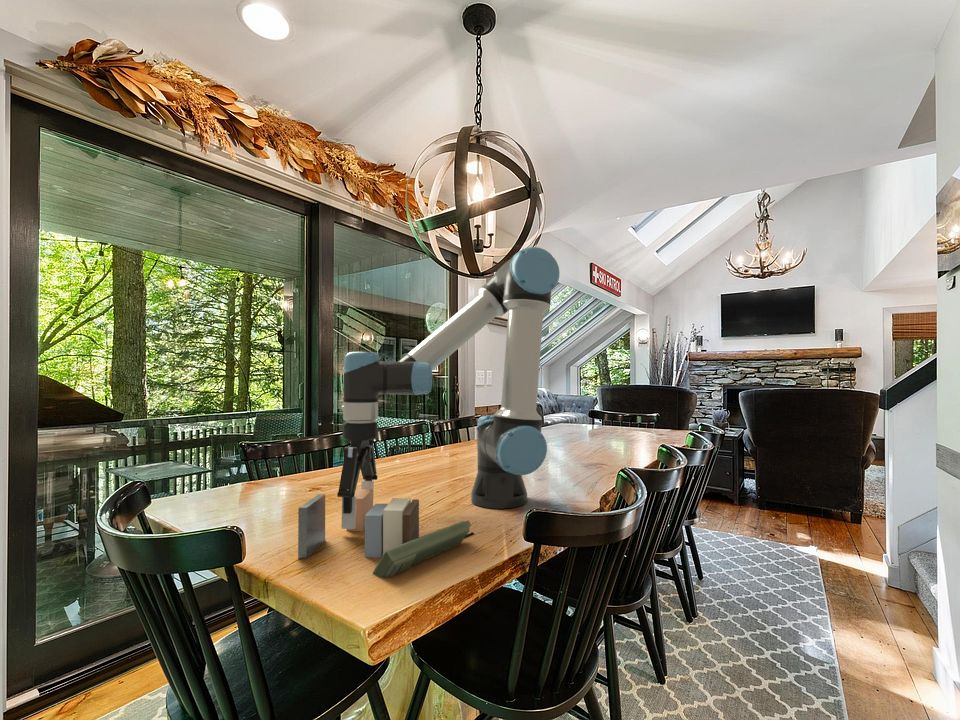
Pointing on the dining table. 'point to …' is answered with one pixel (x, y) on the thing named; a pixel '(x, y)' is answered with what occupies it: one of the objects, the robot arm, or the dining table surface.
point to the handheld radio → (421, 549)
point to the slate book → (374, 531)
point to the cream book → (394, 522)
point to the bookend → (311, 525)
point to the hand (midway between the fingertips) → (358, 518)
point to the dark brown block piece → (411, 522)
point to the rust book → (362, 507)
